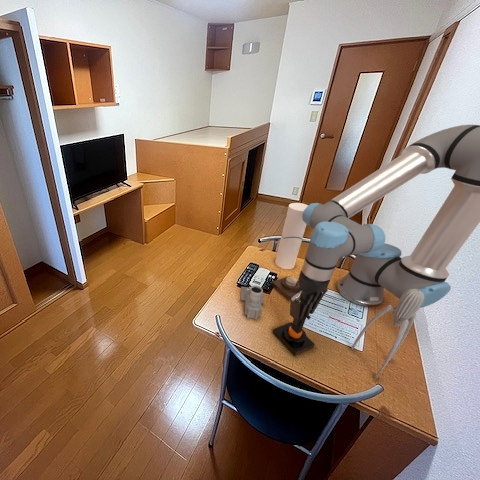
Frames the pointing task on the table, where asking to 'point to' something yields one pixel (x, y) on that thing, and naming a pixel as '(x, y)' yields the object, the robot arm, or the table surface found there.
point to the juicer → (399, 319)
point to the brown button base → (285, 288)
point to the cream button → (291, 281)
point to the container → (291, 236)
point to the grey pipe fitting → (252, 300)
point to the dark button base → (293, 340)
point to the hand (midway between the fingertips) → (296, 329)
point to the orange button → (294, 333)
